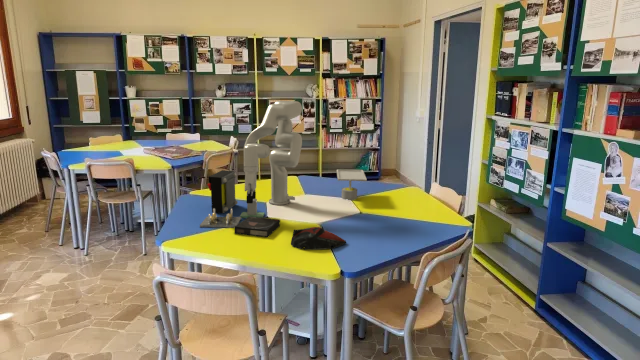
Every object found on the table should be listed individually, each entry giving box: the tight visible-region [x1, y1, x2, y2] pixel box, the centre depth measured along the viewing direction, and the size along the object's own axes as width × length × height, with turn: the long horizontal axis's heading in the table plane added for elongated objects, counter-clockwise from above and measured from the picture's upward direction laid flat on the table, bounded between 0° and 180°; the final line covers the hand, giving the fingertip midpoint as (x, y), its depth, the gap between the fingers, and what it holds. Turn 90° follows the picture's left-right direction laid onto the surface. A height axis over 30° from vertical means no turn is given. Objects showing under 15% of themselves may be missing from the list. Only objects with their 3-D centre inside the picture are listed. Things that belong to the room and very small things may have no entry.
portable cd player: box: [233, 216, 281, 238], centre depth 210 cm, size 16×17×4 cm
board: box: [239, 198, 266, 219], centre depth 231 cm, size 12×7×9 cm, turn 89°
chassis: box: [199, 208, 242, 229], centre depth 219 cm, size 18×14×6 cm
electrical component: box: [207, 169, 238, 214], centre depth 242 cm, size 18×10×20 cm, turn 168°
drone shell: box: [290, 226, 347, 251], centre depth 193 cm, size 21×20×8 cm
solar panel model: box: [336, 169, 368, 201], centre depth 269 cm, size 28×17×15 cm, turn 179°
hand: (251, 200), depth 229 cm, fingers open, 9 cm apart
